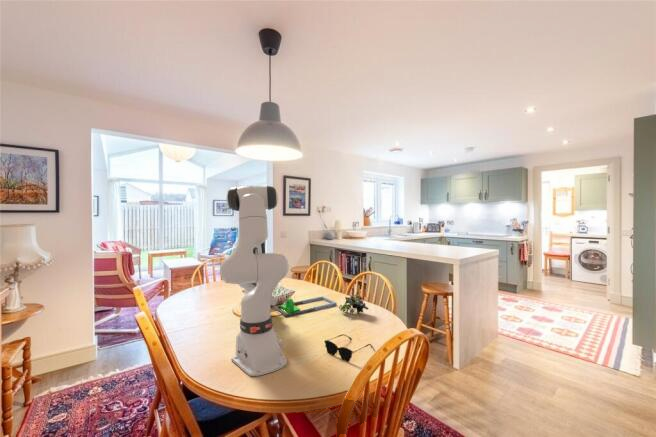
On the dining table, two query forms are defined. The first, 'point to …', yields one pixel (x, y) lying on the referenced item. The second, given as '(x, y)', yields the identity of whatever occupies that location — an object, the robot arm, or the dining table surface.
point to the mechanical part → (289, 306)
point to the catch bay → (321, 305)
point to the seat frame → (293, 312)
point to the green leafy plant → (353, 304)
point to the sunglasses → (340, 349)
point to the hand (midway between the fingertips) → (275, 303)
